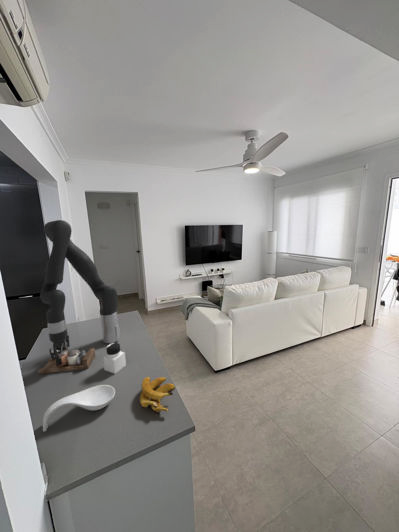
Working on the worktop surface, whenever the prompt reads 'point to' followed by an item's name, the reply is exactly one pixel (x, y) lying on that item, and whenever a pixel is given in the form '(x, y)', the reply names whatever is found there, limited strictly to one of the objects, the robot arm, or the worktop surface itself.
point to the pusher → (80, 357)
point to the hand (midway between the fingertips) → (62, 360)
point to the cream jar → (72, 357)
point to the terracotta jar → (63, 358)
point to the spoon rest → (83, 400)
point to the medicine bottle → (114, 358)
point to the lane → (85, 365)
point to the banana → (155, 393)
